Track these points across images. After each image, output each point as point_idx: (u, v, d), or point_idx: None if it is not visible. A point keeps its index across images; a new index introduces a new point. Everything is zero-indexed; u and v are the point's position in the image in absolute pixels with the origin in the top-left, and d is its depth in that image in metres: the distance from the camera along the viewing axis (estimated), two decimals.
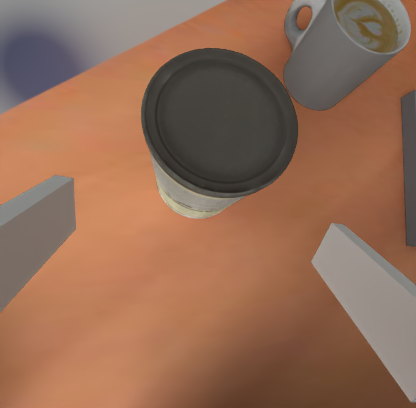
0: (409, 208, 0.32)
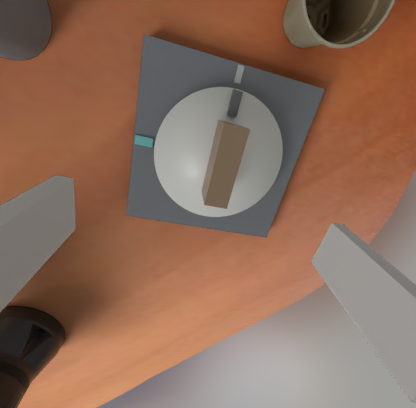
0: None
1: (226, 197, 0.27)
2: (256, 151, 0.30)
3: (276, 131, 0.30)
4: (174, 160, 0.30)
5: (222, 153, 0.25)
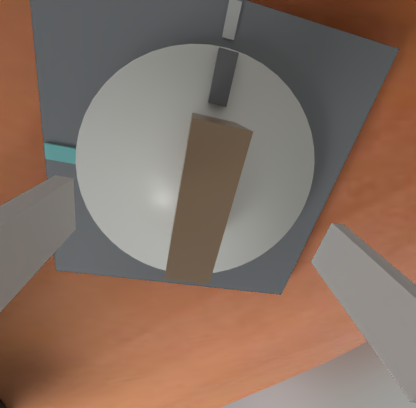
0: None
1: (207, 265, 0.14)
2: (266, 169, 0.17)
3: (305, 133, 0.16)
4: (116, 188, 0.17)
5: (192, 186, 0.12)
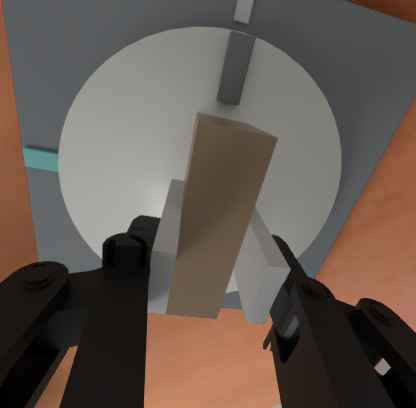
0: None
1: (214, 298, 0.12)
2: (283, 179, 0.14)
3: (331, 137, 0.13)
4: (108, 200, 0.14)
5: (198, 206, 0.09)
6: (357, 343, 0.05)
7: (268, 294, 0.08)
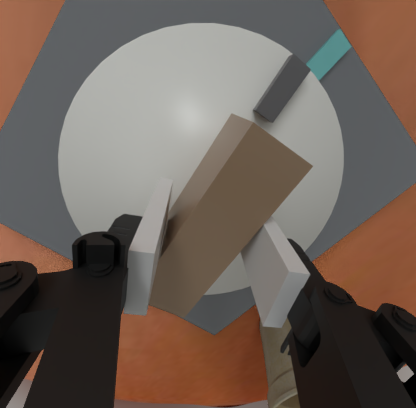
0: None
1: (191, 297, 0.11)
2: (282, 204, 0.15)
3: (335, 181, 0.14)
4: (107, 165, 0.13)
5: (216, 203, 0.09)
6: (381, 350, 0.05)
7: (286, 299, 0.08)
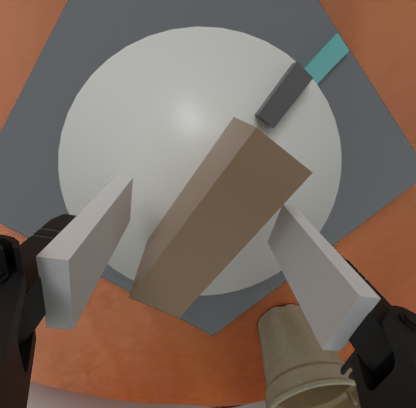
0: None
1: (187, 297, 0.11)
2: (279, 208, 0.15)
3: (332, 188, 0.15)
4: (108, 163, 0.13)
5: (216, 205, 0.09)
6: None
7: (352, 323, 0.07)
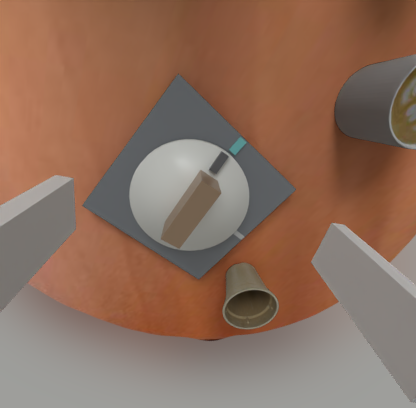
0: None
1: (182, 239, 0.30)
2: (224, 206, 0.34)
3: (246, 197, 0.33)
4: (149, 187, 0.32)
5: (191, 203, 0.28)
6: None
7: None
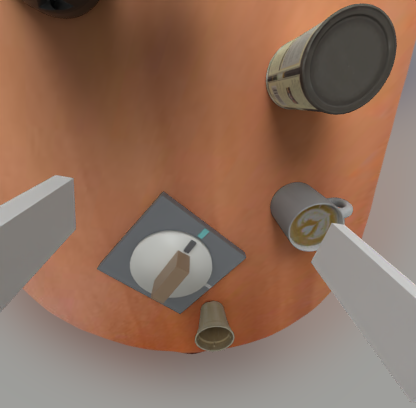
0: (183, 207, 0.45)
1: (164, 298, 0.45)
2: (195, 270, 0.49)
3: (210, 265, 0.48)
4: (143, 260, 0.47)
5: (170, 278, 0.43)
6: None
7: None
